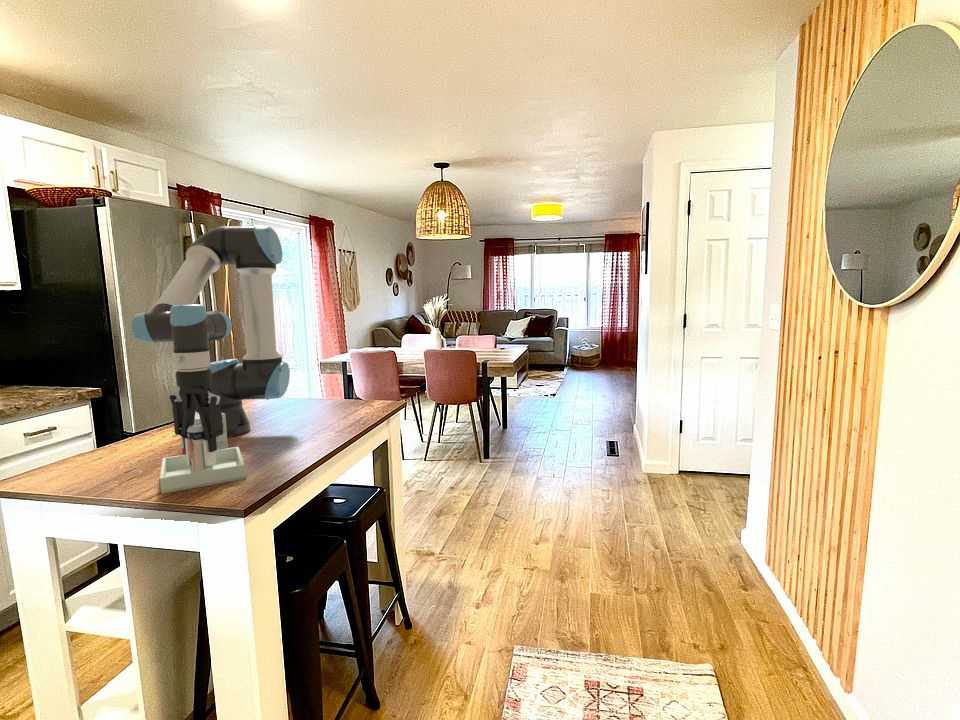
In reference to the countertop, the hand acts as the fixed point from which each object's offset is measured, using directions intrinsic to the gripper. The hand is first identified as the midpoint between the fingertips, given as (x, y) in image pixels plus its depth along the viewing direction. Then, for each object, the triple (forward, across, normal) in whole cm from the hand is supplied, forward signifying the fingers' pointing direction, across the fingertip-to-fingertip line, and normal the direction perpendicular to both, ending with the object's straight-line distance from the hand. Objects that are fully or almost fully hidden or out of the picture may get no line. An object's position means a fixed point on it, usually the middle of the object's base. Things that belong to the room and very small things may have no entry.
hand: (201, 463), depth 128 cm
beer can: (+3, 0, 0) cm, 3 cm away
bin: (+3, 0, 0) cm, 3 cm away
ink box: (+3, -12, +14) cm, 19 cm away
